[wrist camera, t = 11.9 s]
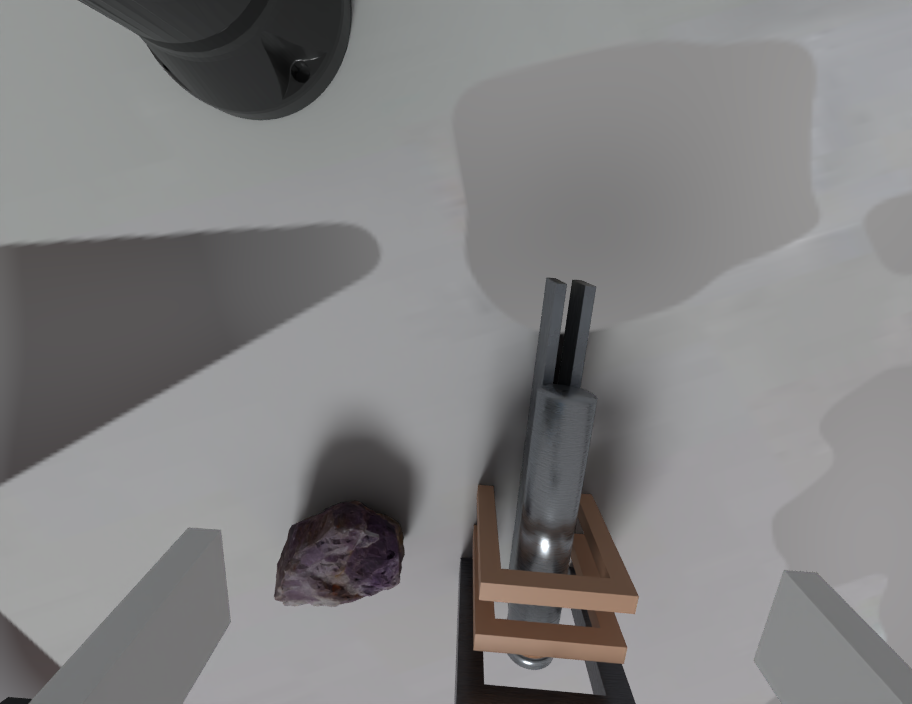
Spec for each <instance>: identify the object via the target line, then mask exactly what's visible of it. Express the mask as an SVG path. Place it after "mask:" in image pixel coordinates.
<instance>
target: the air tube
mask: <svg viewBox="0 0 912 704" xmlns="http://www.w3.org/2000/svg"><path fill="white" fill-rule="evenodd" d="M596 404H597V397H596V396H595V395H594V394H593V393H591V392H589V391H587V390H584V389H582V388H578V387H574V386H569V385H561V384H549V385H543V386H541V387H539V388H538V390H537V398H536V406H535V413H534V421H533V428H532V436H531V443H530V451H529V458H528V466H527V473H526V481H525V489H524V496H523V504H522V511H521V519H520V526H519V534H518V541H517V549H516V557H515V564H514V570H521V571H532V572H544V573H555V574H566V575H567V574H568V568H569V562H570V556H571V551H572V545H573V539H574V533H575V527H576V521H577V515H578V510H579V504H580V498H581V492H582V486H583V480H584V474H585V468H586V463H587V457H588V451H589V445H590V439H591V433H592V427H593V422H594V416H595V410H596ZM561 609H562V607H551V606H540V605H529V604H517V603H509V609H508V617H507V620H517V621H528V622H539V623H551V624H559V621H560V615H561ZM507 654H508V656H509V657H510V658H511V659H512V660H513V661H514V662H515V663H516V664H518V665H519V666H521V667H524V668H526V669H531V670H538V669H542V668H545V667H546V666H548V665H549V664H550V663H551V661H552V659H553V657H542V656H531V655H520V654H509V653H507Z"/></svg>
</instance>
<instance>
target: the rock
mask: <svg viewBox="0 0 912 704" xmlns="http://www.w3.org/2000/svg"><path fill="white" fill-rule="evenodd" d="M403 539H404V537H403V532H402V529H401V527H400V525H399V523H398V522H397V521H395V520H394V519H392V518H390V517H389V516H387V515H383V514H381V513H376V512H375V511H374V510H371V509H369V508H367V507H366V506H365V505H364V504H363V503H361V502H359V501H351V502H342V503H339V504H337V505H333V506H331V507H330V508H327V509H325V510H324V511H323V512H322V513H320V514H318V515H315V516H312V517H309V518H307V519H305V520H303V521H301V522H298V523H296V524H294V525H292V526H291V528H290V529H289V533H288V539H287V541H286V543H285V546H284V548H283V551H282V553H281V558H280V559H279V561H278V563H277V574H276V587H275V594H274V597H275V600H277V601H282V602H283V604H284V605H285V606H300V605H303V604H311V605H313V606H330V607H335V606H338V605H339V604H344V603H349V602H353V601H356V600H358V599H361V598H363V597H365V596H372V595H375V594H377V593H378V592H380V591H382V590H388V589H391V588H393V587H395V586H396V585H398V584H399V583H400V573H401V569H402V565H401V563H402V560H403V557H404V555H405V554H404V545H403Z"/></svg>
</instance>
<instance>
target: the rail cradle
mask: <svg viewBox="0 0 912 704" xmlns="http://www.w3.org/2000/svg"><path fill="white" fill-rule="evenodd" d="M566 287H567V284H565V283H563V282H561V281H560V280H558V279H556V278H546V285H545V293H544V301H543V309H542V316H541V324H540V332H539V340H538V347H537V355H536V363H535V371H534V378H533V386H532V394H531V402H530V409H529V417H528V425H527V433H526V440H525V448H524V456H523V464H522V471H521V479H520V487H519V495H518V502H517V510H516V518H515V526H514V533H513V541H512V549H511V557H510V564H509V569H510V570H514V564H515V557H516V549H517V541H518V534H519V526H520V519H521V511H522V504H523V496H524V489H525V481H526V473H527V466H528V458H529V451H530V443H531V436H532V428H533V421H534V413H535V406H536V398H537V390H538V388H539V387H541V386H543V385H549V384H553V379H554V372H555V365H556V358H557V351H558V344H559V337H560V330H561V322H562V315H563V308H564V301H565V294H566ZM595 291H596V286H593V285H591V284H589V283H586V282H584V281H581V280H572V286H571V293H570V300H569V307H568V314H567V320H566V327H565V334H564V341H563V348H562V355H561V362H560V369H559V376H558V383H557V384H561V385H569V386H574V387H578V388H580V386H581V379H582V373H583V367H584V360H585V354H586V348H587V341H588V335H589V329H590V322H591V316H592V310H593V303H594V297H595ZM508 609H509V603H508Z"/></svg>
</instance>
